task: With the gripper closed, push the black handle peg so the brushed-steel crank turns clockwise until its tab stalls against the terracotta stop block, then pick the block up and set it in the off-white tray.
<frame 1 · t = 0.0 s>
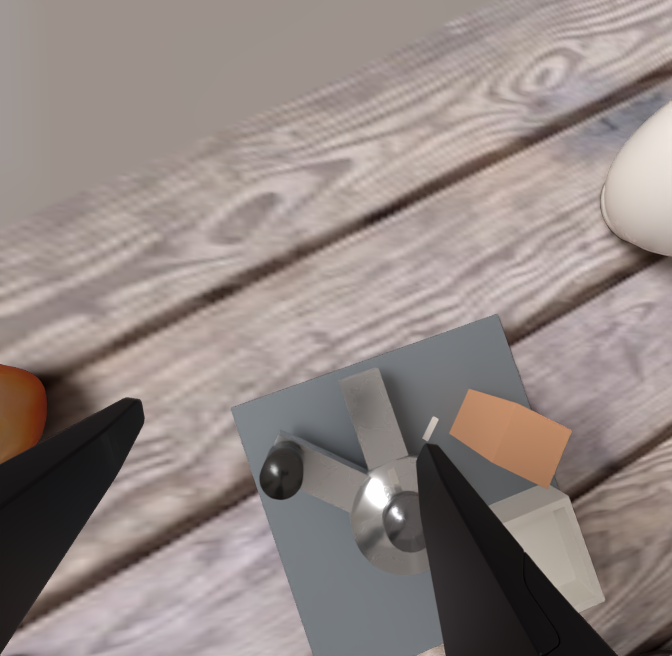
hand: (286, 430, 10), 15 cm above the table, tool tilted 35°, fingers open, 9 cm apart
fruit: (18, 412, 23), on the table
faceplate: (414, 493, 25), on the table
lidded bowl: (634, 205, 28), on the table
crank wheel: (363, 489, 21), point 4 cm above the table, hinge at 0.0°
tray: (517, 548, 25), resting on faceplate
stop block: (480, 421, 25), resting on faceplate
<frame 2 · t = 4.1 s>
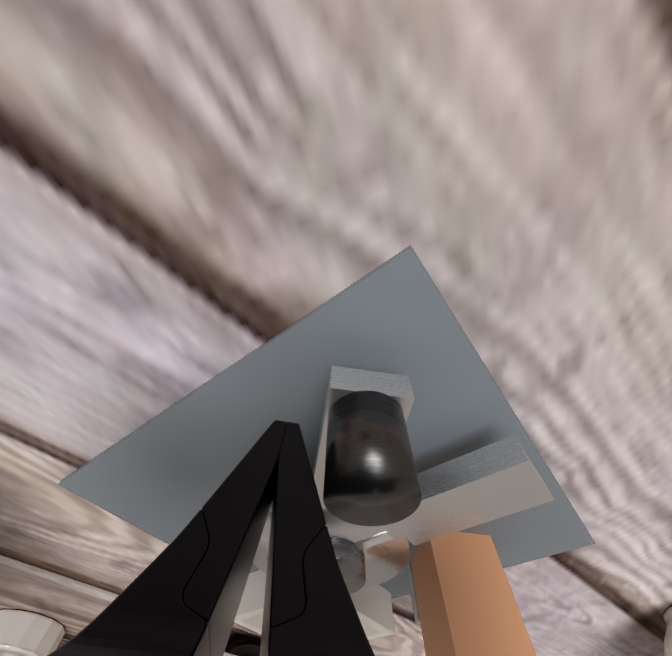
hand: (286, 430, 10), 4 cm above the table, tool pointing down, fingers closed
white cup: (30, 620, 29), on the table
faceplate: (339, 510, 19), on the table
spread jar: (245, 650, 32), on the table
crank wheel: (356, 532, 13), point 4 cm above the table, hinge at 0.0°, touching gripper
tray: (314, 585, 23), resting on faceplate
stop block: (448, 548, 20), resting on faceplate
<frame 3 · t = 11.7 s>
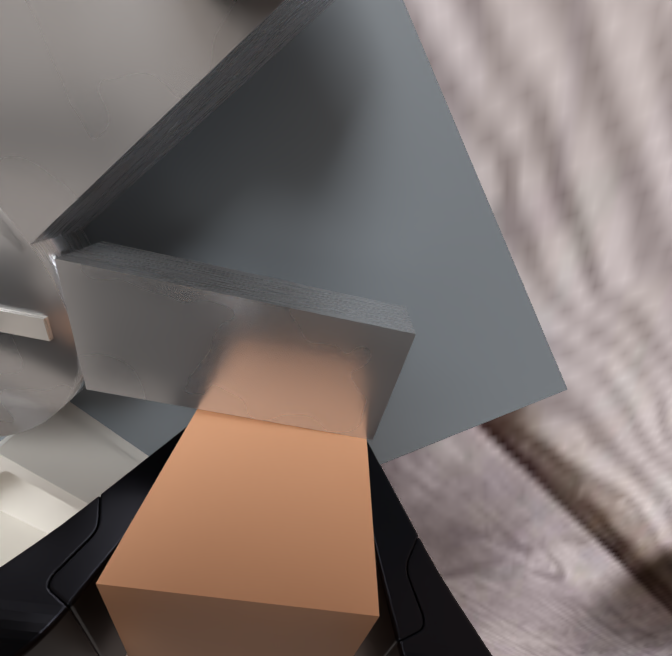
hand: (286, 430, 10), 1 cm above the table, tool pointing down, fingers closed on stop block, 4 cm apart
faceplate: (48, 296, 9), on the table
tray: (95, 493, 14), resting on faceplate
stop block: (291, 403, 11), resting on faceplate, touching crank wheel, gripper
when the fingers open (4 cm above the table, at t = 15.2 s): stop block stays where it is, resting on tray.
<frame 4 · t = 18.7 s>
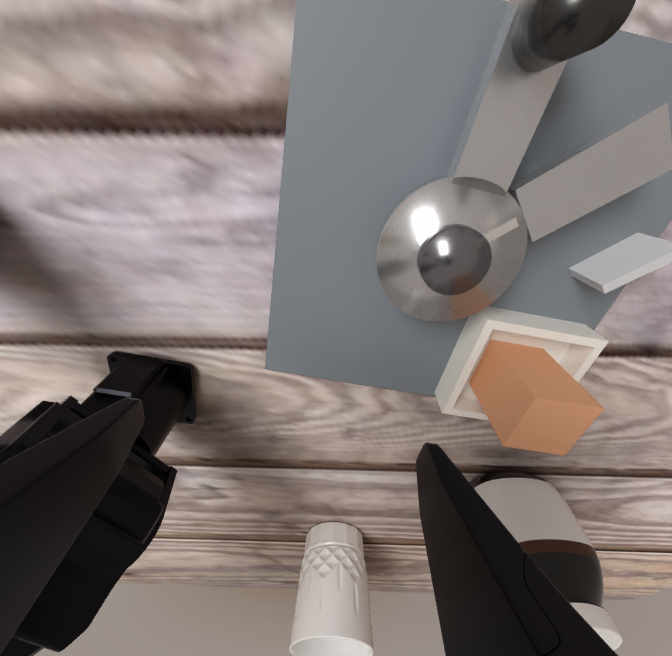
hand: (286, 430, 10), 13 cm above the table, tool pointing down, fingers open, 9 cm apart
white cup: (334, 534, 37), on the table
faceplate: (455, 255, 20), on the table
spread jar: (511, 495, 33), on the table
crank wheel: (502, 185, 14), point 4 cm above the table, hinge at -47.1°
tray: (503, 360, 23), resting on faceplate
stop block: (504, 366, 23), point 1 cm above the table, touching tray
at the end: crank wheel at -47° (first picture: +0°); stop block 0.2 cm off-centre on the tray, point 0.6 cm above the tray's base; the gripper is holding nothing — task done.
